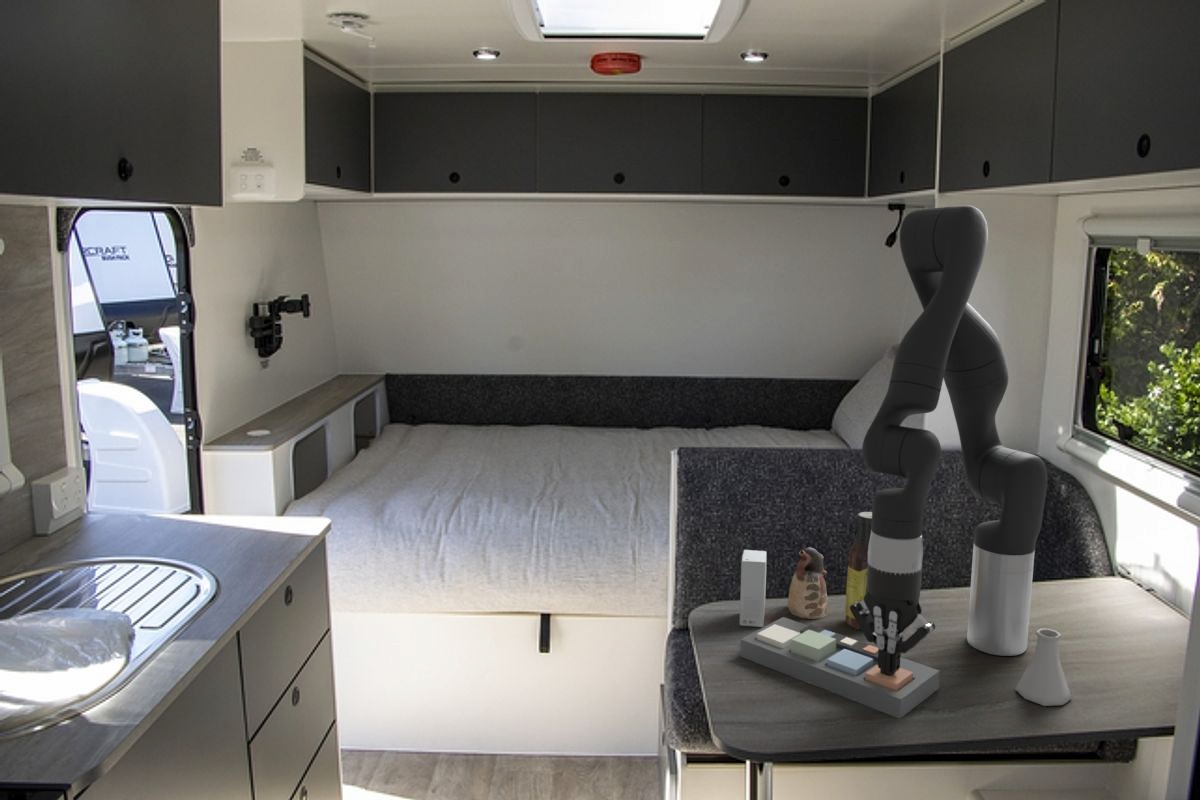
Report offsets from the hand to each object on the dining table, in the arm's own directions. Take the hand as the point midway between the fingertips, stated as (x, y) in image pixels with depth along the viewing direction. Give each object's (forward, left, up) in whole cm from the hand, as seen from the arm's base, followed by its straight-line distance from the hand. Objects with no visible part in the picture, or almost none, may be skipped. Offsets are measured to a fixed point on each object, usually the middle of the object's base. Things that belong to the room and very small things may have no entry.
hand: (888, 672), depth 142 cm
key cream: (0, -19, -3) cm, 20 cm away
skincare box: (-9, -31, -4) cm, 32 cm away
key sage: (0, -13, -1) cm, 13 cm away
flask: (-17, +16, -4) cm, 24 cm away
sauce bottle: (-21, -16, -4) cm, 26 cm away
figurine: (-19, -26, -4) cm, 32 cm away
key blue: (0, -6, -3) cm, 7 cm away
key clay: (0, 0, -3) cm, 3 cm away
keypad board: (-2, -10, -4) cm, 11 cm away
